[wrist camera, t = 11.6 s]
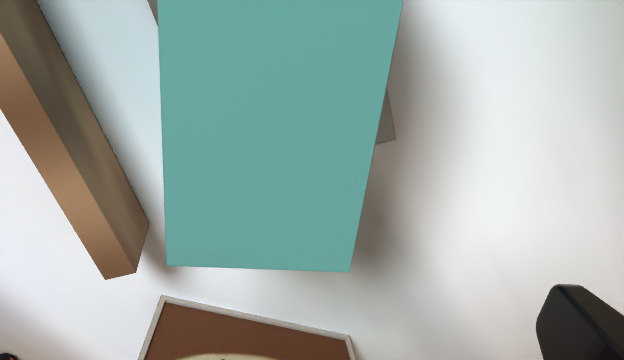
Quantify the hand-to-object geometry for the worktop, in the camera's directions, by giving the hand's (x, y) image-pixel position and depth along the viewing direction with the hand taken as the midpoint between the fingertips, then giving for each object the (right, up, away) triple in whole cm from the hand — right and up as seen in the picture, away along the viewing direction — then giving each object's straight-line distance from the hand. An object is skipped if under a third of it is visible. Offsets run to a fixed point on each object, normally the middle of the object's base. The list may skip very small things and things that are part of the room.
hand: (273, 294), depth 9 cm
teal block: (-1, +7, +10) cm, 12 cm away
